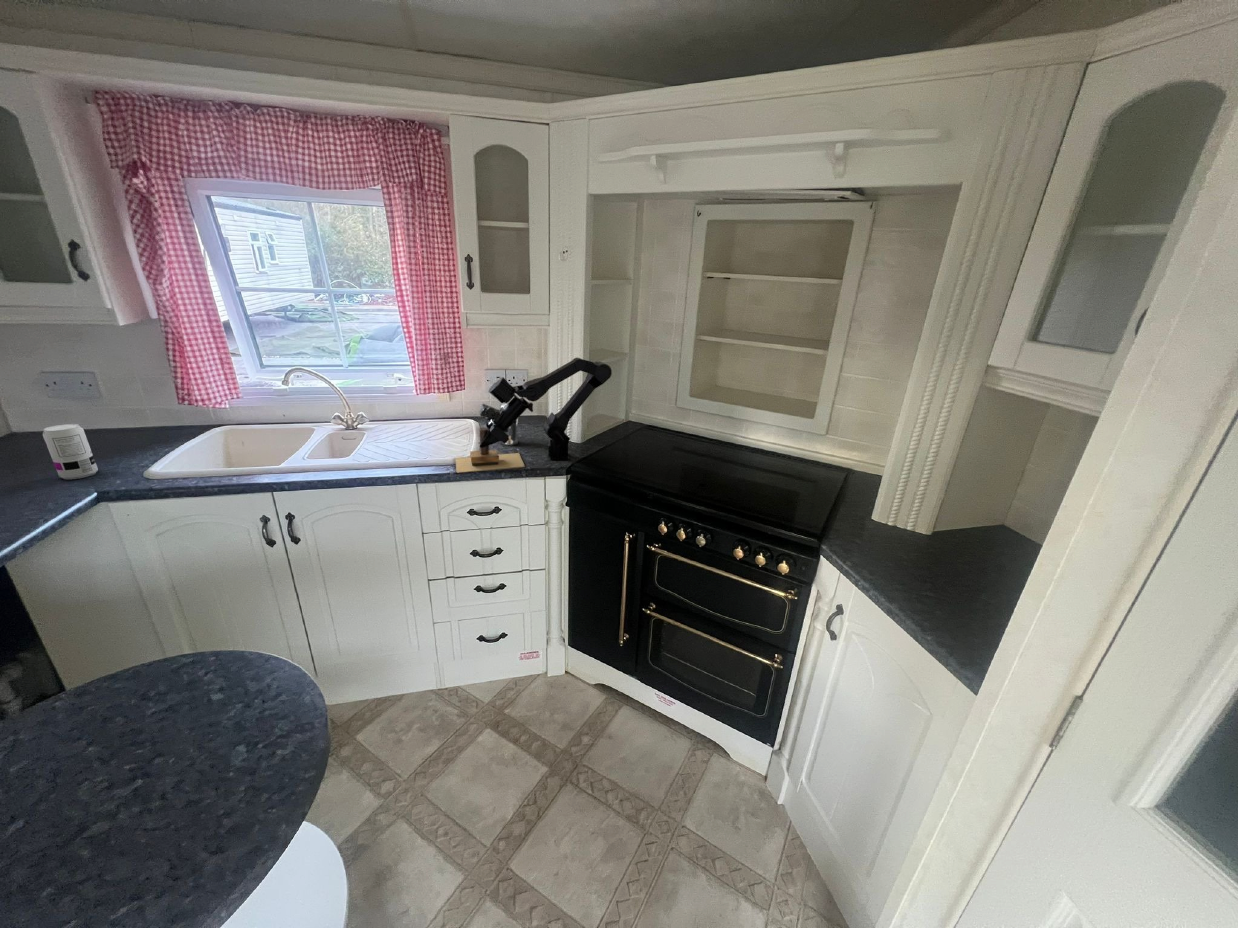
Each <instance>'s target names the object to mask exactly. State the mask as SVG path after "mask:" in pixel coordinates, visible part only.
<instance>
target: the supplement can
mask: <svg viewBox="0 0 1238 928" xmlns="http://www.w3.org/2000/svg"><path fill="white" fill-rule="evenodd" d="M42 437H43V441H44V442H45V444H46V447H47V449H48V450H47V451H48V453H49V455H50V457H51V460H52V462H53V465H54V467H55V469H56V472H57V475H58V477H59V478H61V479H63V480H77V479H84V478H87V477H91V476H93V475H95V474H97V472H98V470H99V468H98V465H97V463H96V460H95V457H94V455H93V452H92V449H91V447H90V443H89V441H88V438H87V435H86V433H85V430H84V428H83V427H81V426H80V424H77V423H65V424H57V425H52V426H48V427H45V428H43V432H42Z"/></svg>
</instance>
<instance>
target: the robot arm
mask: <svg viewBox="0 0 1238 928" xmlns="http://www.w3.org/2000/svg"><path fill="white" fill-rule="evenodd" d="M612 371H613V370H612V367H611V366H610V365H608V364H607V363H605V362H603V361H600V360H597V361H591V360H587V359H583V358H581V357H574V358H573V359H571V360H570V361H568V362H567V363H565V364H563V365H562V366H560V367H558V368H556V369H554V370H553V371H551V372H549V373H547V374H546V375H544V376H541V377H536V378H533V379H530V380H527V381H525V382H524V383H523V384H519V385H515V386H514V385H512V384H511V383H509V382H508V380H507V379H506V378H505V377H504V376H502V377H501V378H500V379H497V381H495V382H493V384H492V385H491V386H490V388H489V389H488V391H487V392H488V393H489V394H490V395H491V396H492V397H494V399H496V400H497V401H498V402H499V403H500V404H505V403H508V404H507V405H506V406H505V407H504V408H503V407H502V408H500V407H499V408H495V407H494V406H490V405H488V404H485V403H482V404H481V407H480V409H479V411H478V413H479V415H480V416H481V417H483V418H485V420H486V421H485V428H487V429H488V434H487V435H486V437H485V438H484V440H483V441H482V442H481V444H480V446H479V449H480V448H484V447H486V446H489V447H490V446H491V445H493V444H496V443H499V442H501V443H502V442H503V443H506V442H507V441H508V440H509V436H508V433H507V432H508V431H509V430H508V428H509V427H510V426H511V425H512V424H513V423H514V424H515V423H516V422H517V421H516V420H517V419H518V420H519V418H520V417H521V416H522V414H524V412H525V411H526V410H527V409H528V410H529V411H530V412H531V413H533V412H534V403H533V402H537V401H539V400H540V399H541V398H542V397H543V396H545V395H546V394H547V393H548V391H549V390H551V388H553V387H554V386H557V385H558V384H560V383H562V382H563V381H565V380H567V379H568V378H571V377H572V376H574V375H575V374H578V373H579V372H583V373H586V376H585V379H584V381H583V382H582V384H581V385H580V386H579V387H578V389H576V390H575V392H574V393H573V395H572V396H571V397H570V398H569V399H568V401H567V402H566V403H565V405H563V407H562V408H561V409H560V411H558V412H557V413H555V414H554V413H553V412H550V414H549V415H548V417H546V419H544V420H543V421H544V424H543V431H544V433H545V434H546V435H547V437H548V438H549V443H548V458H549V461H569V459H570V458H569V443H570V440H571V438H570V437H569V436H568V434H567V433H566V430H567V428H568V425H569V423H570V420H571V419H572V418H573V416H574V415H575V414H576V413H577V412H578V410H579V409H580V408H581V407H582V405H583V404H584V403H585V402H586V401H587V400H588V398H589V397H590V396H591V394H592V393H593V392H594V391H595V390H596V389H598V388H599V387H600V386H602V385H604V384H605V383H606V382H607V381H609V380H610V378H611V377H612V373H613V372H612Z"/></svg>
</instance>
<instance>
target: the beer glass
mask: <svg viewBox="0 0 1238 928" xmlns="http://www.w3.org/2000/svg"><path fill="white" fill-rule="evenodd" d="M508 403H509V402H508ZM508 403H500V404H499V409H500V408H502V407H503V408H504V407H505V406H506V405H507V404H508ZM516 421H517V422H516V423H515V424H514V423H513V424H512V425H511V426H510V427H509V428H508V430H509V431H508V432H507V433H508V436H509V440H508V441H507V442H506V443H503V442H502V441H501V444H502V445H503V446H508V447H510V446H511V447H512V446H516V445H518V444H519V440H518V428H519V427H518V426H519V418H518V419H517V420H516Z"/></svg>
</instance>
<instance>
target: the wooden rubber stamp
mask: <svg viewBox="0 0 1238 928" xmlns="http://www.w3.org/2000/svg"><path fill="white" fill-rule="evenodd" d="M487 434H488V429H487V428H486V427H480V428H478V440H479V441H478V445H479V446H480V444H481V442H482V441H483V440H484V438H485V437H486V435H487ZM469 457H470V458H471V463H472V466H478V465H494V464H499V463H498V462H499V452H498V449H490V445H489V446H486V447H484V448H480V447H479V450H471V451H469Z"/></svg>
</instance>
